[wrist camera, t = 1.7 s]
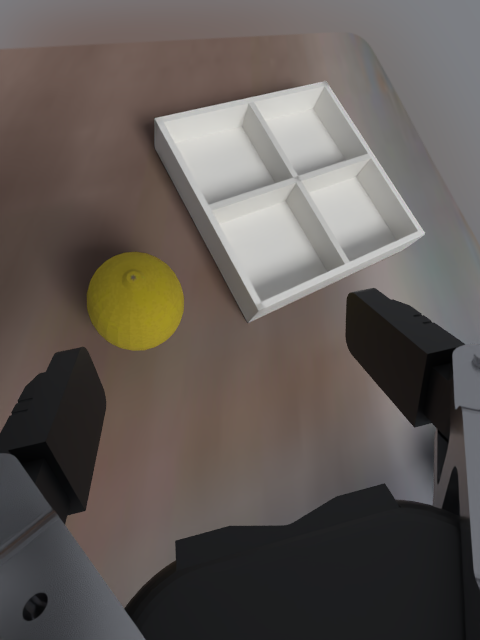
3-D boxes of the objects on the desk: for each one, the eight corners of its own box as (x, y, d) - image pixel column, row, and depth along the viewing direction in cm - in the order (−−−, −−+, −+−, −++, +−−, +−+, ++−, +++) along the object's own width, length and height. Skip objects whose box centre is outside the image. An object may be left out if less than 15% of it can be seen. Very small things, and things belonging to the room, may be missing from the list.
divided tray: (247, 323, 26) (258, 311, 24) (154, 147, 29) (154, 118, 26) (401, 250, 32) (425, 234, 29) (312, 108, 35) (326, 81, 32)
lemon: (94, 289, 25) (68, 230, 17) (173, 282, 26) (181, 224, 19) (102, 366, 23) (78, 339, 16) (185, 354, 25) (198, 323, 17)
